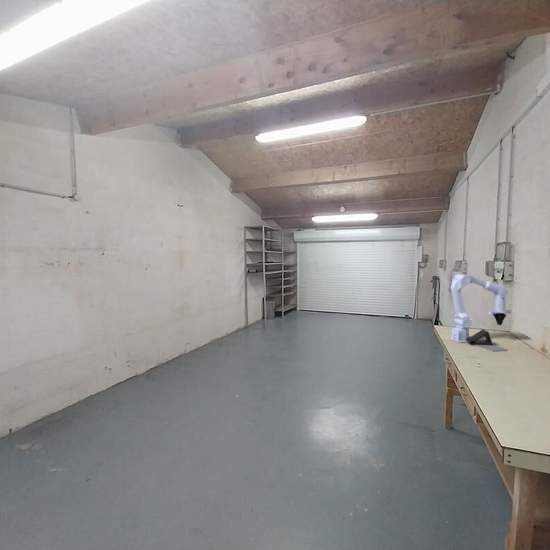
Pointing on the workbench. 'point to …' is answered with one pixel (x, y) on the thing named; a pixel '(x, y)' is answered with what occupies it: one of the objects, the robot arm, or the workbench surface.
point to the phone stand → (479, 335)
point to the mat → (492, 347)
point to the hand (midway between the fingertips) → (499, 324)
